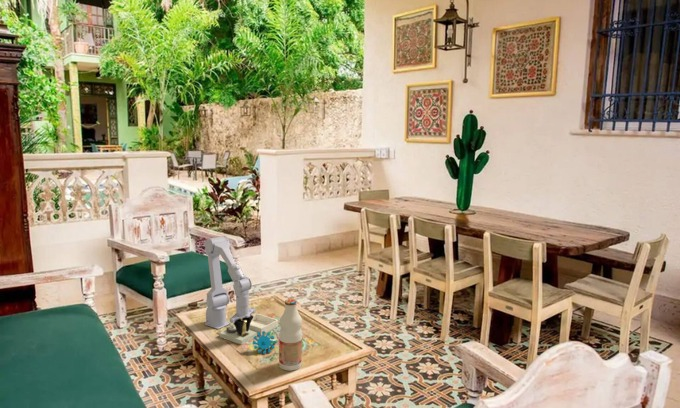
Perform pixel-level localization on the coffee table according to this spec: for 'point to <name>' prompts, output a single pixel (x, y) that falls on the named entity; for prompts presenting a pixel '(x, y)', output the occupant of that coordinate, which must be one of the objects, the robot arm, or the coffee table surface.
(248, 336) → the block
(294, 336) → the fruit juice
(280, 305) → the coffee table surface
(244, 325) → the pin
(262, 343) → the gear
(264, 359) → the coffee table surface
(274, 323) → the tray
